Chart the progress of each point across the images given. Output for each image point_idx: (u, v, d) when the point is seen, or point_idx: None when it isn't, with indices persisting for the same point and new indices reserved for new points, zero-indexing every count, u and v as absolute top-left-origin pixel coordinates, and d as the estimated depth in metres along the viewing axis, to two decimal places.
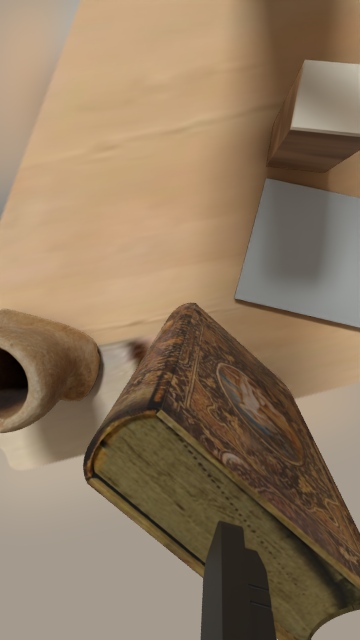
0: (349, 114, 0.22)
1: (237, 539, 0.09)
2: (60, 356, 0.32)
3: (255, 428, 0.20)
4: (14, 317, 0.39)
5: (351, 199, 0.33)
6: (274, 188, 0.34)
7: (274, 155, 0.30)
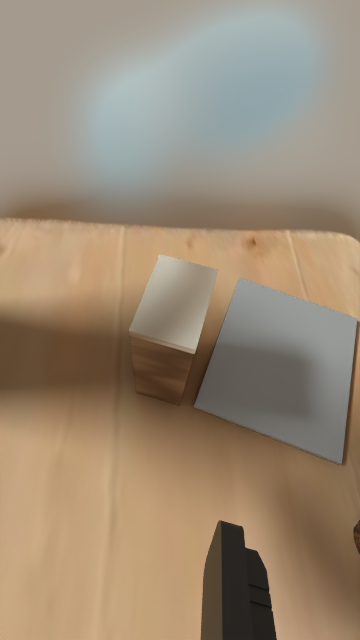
0: (193, 294, 0.20)
1: (237, 539, 0.09)
2: None
3: None
4: None
5: (226, 323, 0.32)
6: (207, 397, 0.29)
7: (183, 389, 0.25)
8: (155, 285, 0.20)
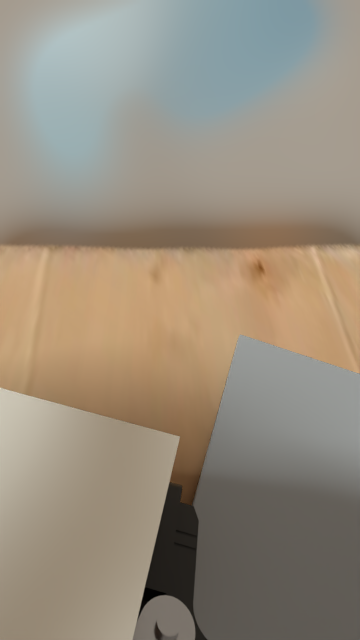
0: (76, 574, 0.05)
1: (174, 494, 0.10)
2: None
3: None
4: None
5: (220, 429, 0.17)
6: None
7: None
8: None
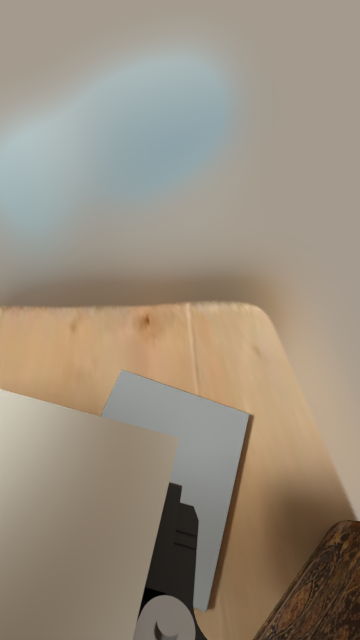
0: (75, 576, 0.05)
1: (174, 494, 0.10)
2: None
3: None
4: None
5: None
6: None
7: None
8: None
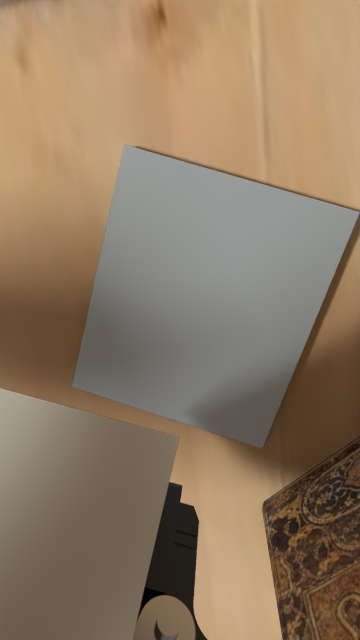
0: (80, 569, 0.05)
1: (174, 494, 0.10)
2: None
3: None
4: None
5: (105, 255, 0.19)
6: (86, 376, 0.21)
7: None
8: None
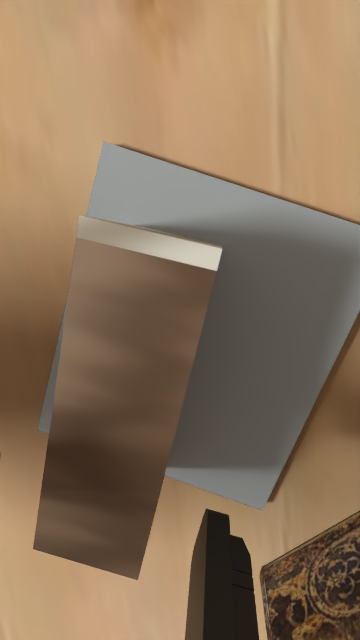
0: None
1: (222, 526, 0.10)
2: None
3: None
4: None
5: None
6: None
7: (162, 480, 0.11)
8: None
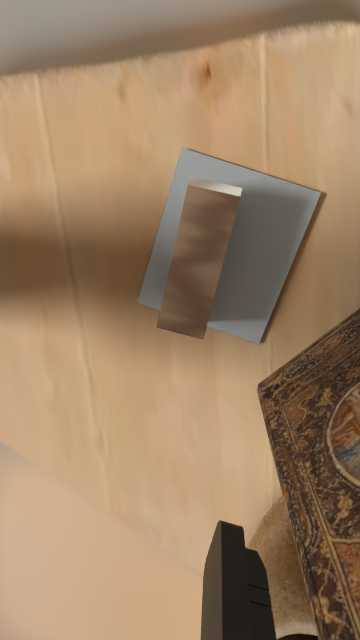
0: None
1: (237, 539, 0.09)
2: (293, 564, 0.29)
3: None
4: None
5: (165, 216, 0.31)
6: (147, 295, 0.33)
7: None
8: None
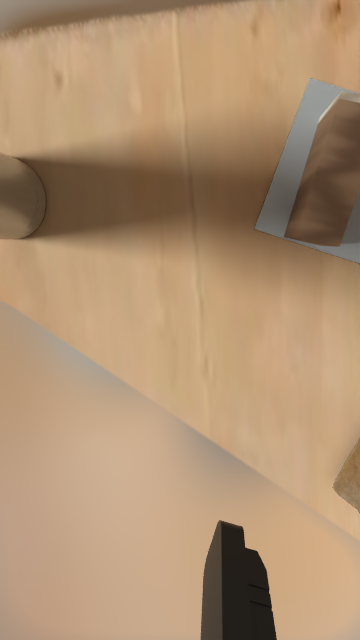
0: None
1: (237, 539, 0.09)
2: None
3: None
4: (345, 480, 0.40)
5: (289, 144, 0.34)
6: (265, 221, 0.36)
7: (355, 197, 0.29)
8: None
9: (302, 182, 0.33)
